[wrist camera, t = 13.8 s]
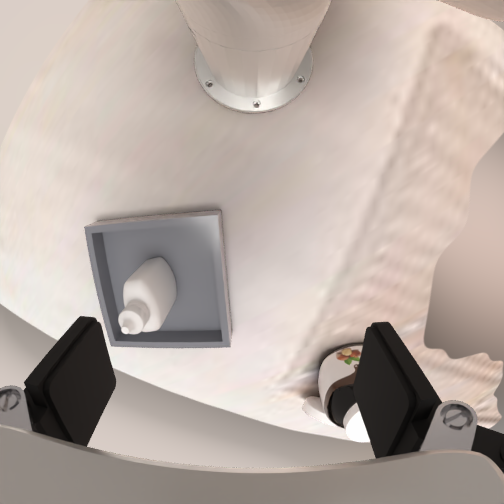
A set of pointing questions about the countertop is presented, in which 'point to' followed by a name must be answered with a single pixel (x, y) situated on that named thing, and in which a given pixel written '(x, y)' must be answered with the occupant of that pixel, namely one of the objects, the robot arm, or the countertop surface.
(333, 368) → the spread jar
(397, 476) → the robot arm
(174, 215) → the dish
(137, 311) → the eye dropper bottle
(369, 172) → the countertop surface
